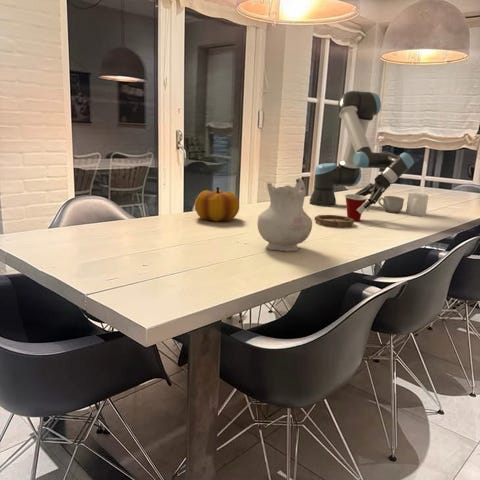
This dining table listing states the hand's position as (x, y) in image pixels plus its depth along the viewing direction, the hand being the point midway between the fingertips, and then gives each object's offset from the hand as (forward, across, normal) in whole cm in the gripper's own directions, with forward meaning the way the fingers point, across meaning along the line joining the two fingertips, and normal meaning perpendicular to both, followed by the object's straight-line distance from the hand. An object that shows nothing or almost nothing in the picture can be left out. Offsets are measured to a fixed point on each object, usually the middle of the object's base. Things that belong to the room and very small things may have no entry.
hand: (352, 209), depth 232 cm
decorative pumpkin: (+51, -2, +43) cm, 67 cm away
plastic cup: (+3, 0, -5) cm, 6 cm away
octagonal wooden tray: (+13, -9, +5) cm, 16 cm away
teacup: (-19, +27, -27) cm, 43 cm away
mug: (-28, +20, -35) cm, 49 cm away
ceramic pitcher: (+38, -53, +30) cm, 71 cm away
